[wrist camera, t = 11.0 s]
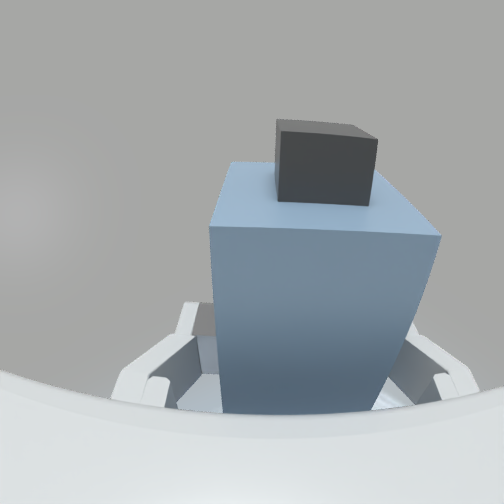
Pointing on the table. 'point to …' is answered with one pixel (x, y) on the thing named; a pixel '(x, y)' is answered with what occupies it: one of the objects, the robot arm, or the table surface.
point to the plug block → (314, 274)
